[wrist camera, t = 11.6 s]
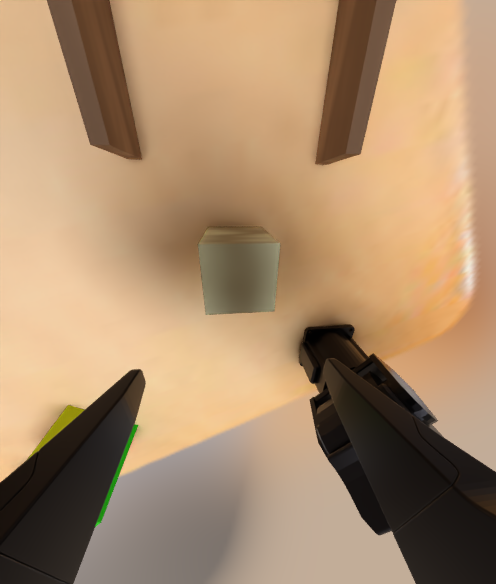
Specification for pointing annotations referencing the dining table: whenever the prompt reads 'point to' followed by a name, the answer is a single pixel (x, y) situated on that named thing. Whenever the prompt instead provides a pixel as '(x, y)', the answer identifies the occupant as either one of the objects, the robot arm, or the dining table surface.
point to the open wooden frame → (115, 100)
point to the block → (238, 269)
